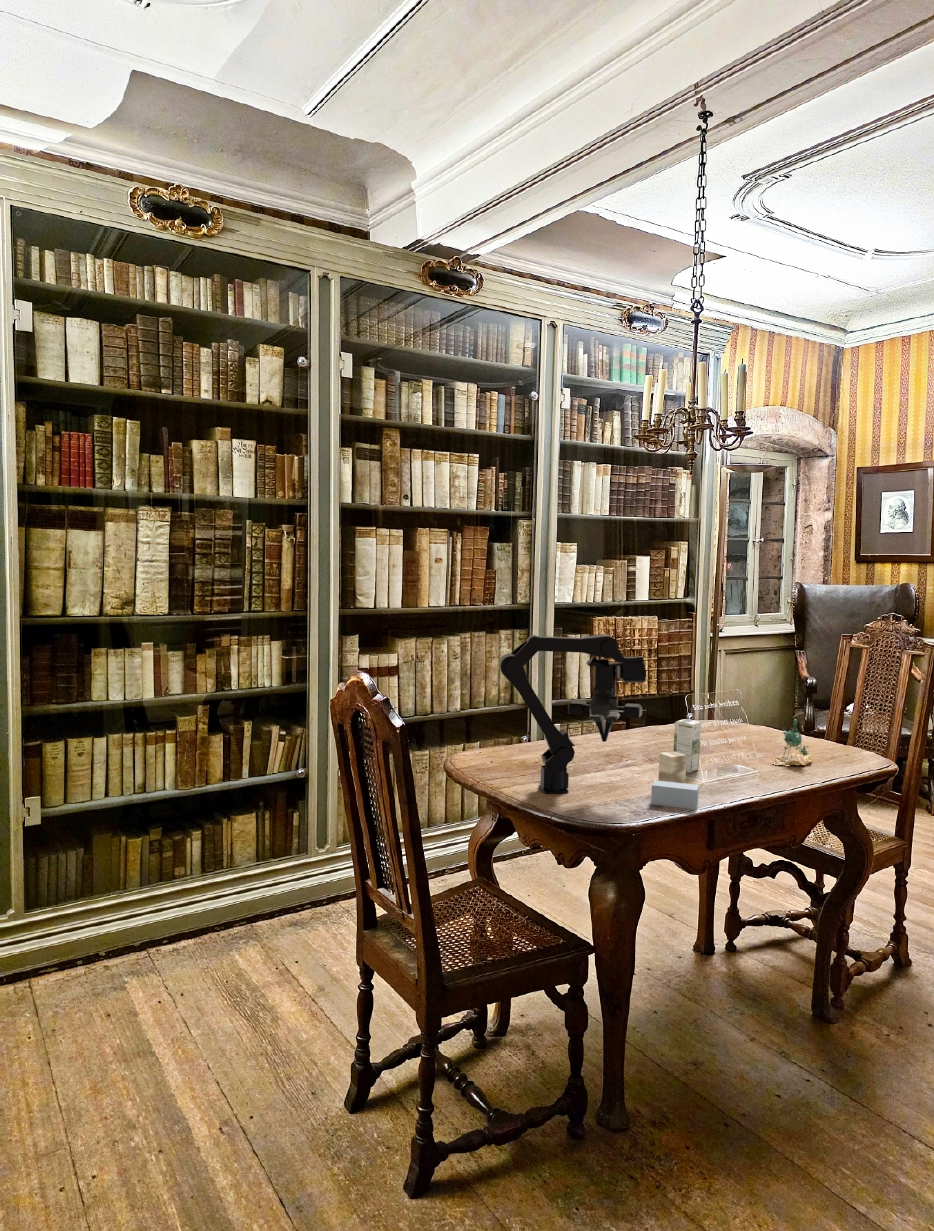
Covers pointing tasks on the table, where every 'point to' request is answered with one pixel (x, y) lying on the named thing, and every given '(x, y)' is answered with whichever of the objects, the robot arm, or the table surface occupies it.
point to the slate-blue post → (675, 794)
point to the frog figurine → (793, 740)
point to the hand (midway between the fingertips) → (604, 741)
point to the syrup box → (688, 742)
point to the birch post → (672, 767)
